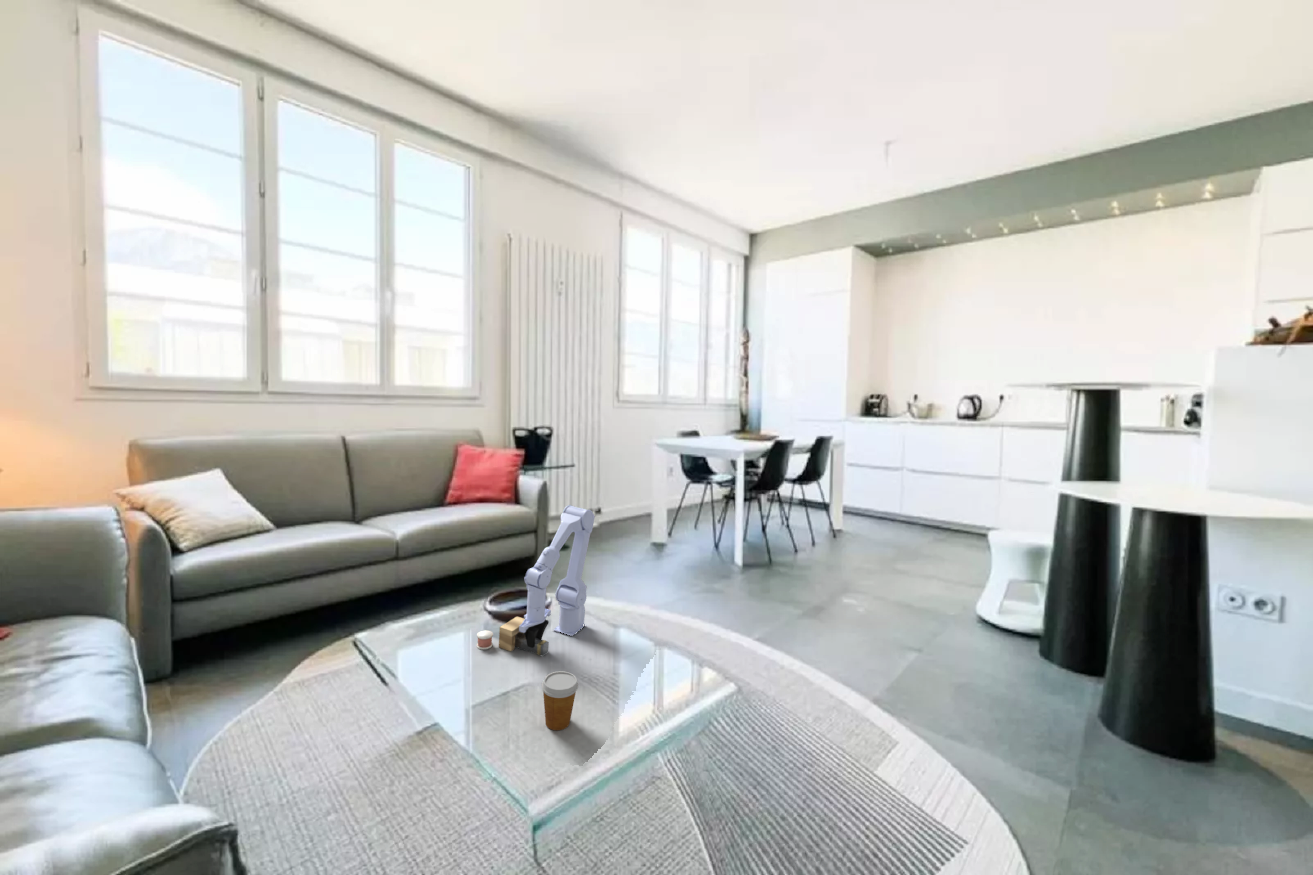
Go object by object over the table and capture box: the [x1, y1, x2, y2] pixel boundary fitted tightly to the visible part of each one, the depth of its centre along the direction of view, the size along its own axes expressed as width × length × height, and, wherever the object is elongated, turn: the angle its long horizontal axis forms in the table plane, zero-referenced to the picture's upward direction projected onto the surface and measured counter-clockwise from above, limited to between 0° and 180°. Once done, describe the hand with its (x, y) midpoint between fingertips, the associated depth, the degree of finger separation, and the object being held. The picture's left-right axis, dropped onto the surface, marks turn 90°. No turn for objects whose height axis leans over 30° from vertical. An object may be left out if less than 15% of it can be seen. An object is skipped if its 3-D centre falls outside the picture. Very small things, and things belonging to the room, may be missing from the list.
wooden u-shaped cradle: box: [498, 616, 525, 652], centre depth 185 cm, size 9×5×7 cm, turn 157°
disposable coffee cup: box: [540, 670, 579, 731], centre depth 146 cm, size 10×10×12 cm
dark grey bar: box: [515, 633, 550, 657], centre depth 183 cm, size 3×16×4 cm, turn 67°
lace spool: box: [476, 630, 494, 650], centre depth 182 cm, size 5×5×4 cm
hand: (534, 644), depth 182 cm, fingers closed on dark grey bar, 3 cm apart
